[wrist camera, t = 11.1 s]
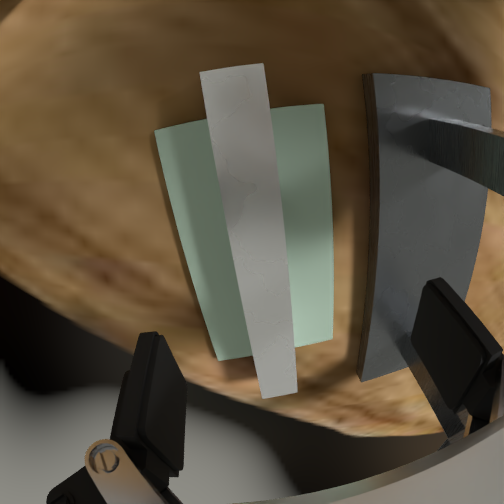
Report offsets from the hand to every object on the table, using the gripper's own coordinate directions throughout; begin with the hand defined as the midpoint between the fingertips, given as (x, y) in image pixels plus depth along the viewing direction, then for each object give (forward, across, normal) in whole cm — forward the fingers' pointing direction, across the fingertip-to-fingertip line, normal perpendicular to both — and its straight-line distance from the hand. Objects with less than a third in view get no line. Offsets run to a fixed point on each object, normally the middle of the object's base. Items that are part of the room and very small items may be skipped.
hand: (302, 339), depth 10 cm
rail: (+7, +1, +1) cm, 7 cm away
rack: (+8, -10, +3) cm, 13 cm away
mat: (+7, +1, +1) cm, 7 cm away
